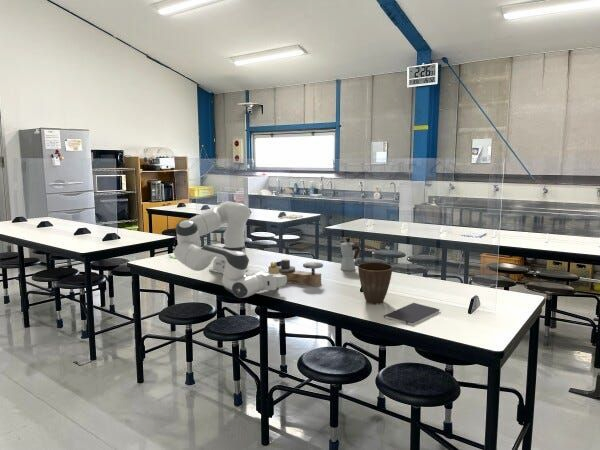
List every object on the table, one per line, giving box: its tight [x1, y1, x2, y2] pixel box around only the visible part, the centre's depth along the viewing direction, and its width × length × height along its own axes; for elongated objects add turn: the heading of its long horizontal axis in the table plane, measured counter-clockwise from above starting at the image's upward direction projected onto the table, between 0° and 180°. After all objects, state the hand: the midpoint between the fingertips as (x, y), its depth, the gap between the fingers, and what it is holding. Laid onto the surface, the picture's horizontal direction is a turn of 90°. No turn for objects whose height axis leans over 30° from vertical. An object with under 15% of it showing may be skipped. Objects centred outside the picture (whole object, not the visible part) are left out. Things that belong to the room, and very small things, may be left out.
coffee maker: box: [339, 237, 361, 272], centre depth 256 cm, size 15×9×18 cm, turn 42°
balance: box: [278, 259, 324, 287], centre depth 233 cm, size 26×10×10 cm, turn 61°
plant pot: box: [357, 261, 394, 305], centre depth 200 cm, size 15×15×16 cm
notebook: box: [383, 302, 440, 326], centre depth 184 cm, size 13×2×21 cm
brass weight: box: [268, 262, 280, 289], centre depth 223 cm, size 5×5×12 cm
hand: (274, 274), depth 223 cm, fingers closed on brass weight, 5 cm apart
